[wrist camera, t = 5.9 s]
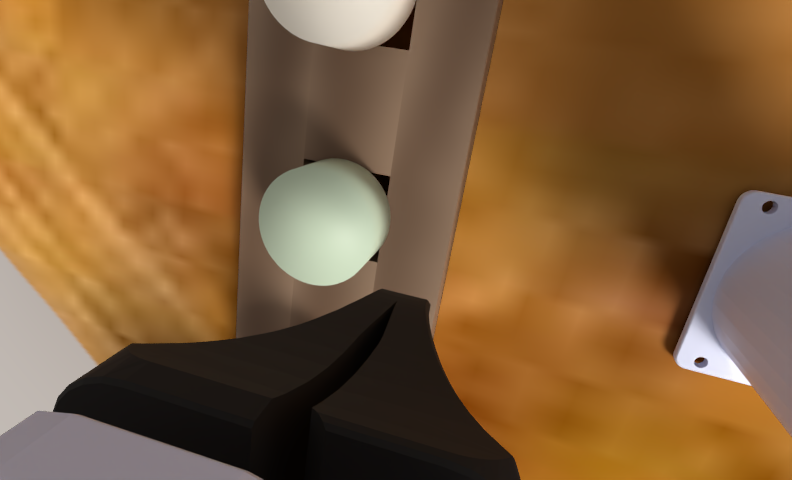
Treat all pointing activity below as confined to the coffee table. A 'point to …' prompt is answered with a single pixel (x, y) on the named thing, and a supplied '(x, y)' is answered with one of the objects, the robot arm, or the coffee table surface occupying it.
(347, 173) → the button sage
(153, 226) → the coffee table surface
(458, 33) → the console
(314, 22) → the button cream
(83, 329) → the coffee table surface
